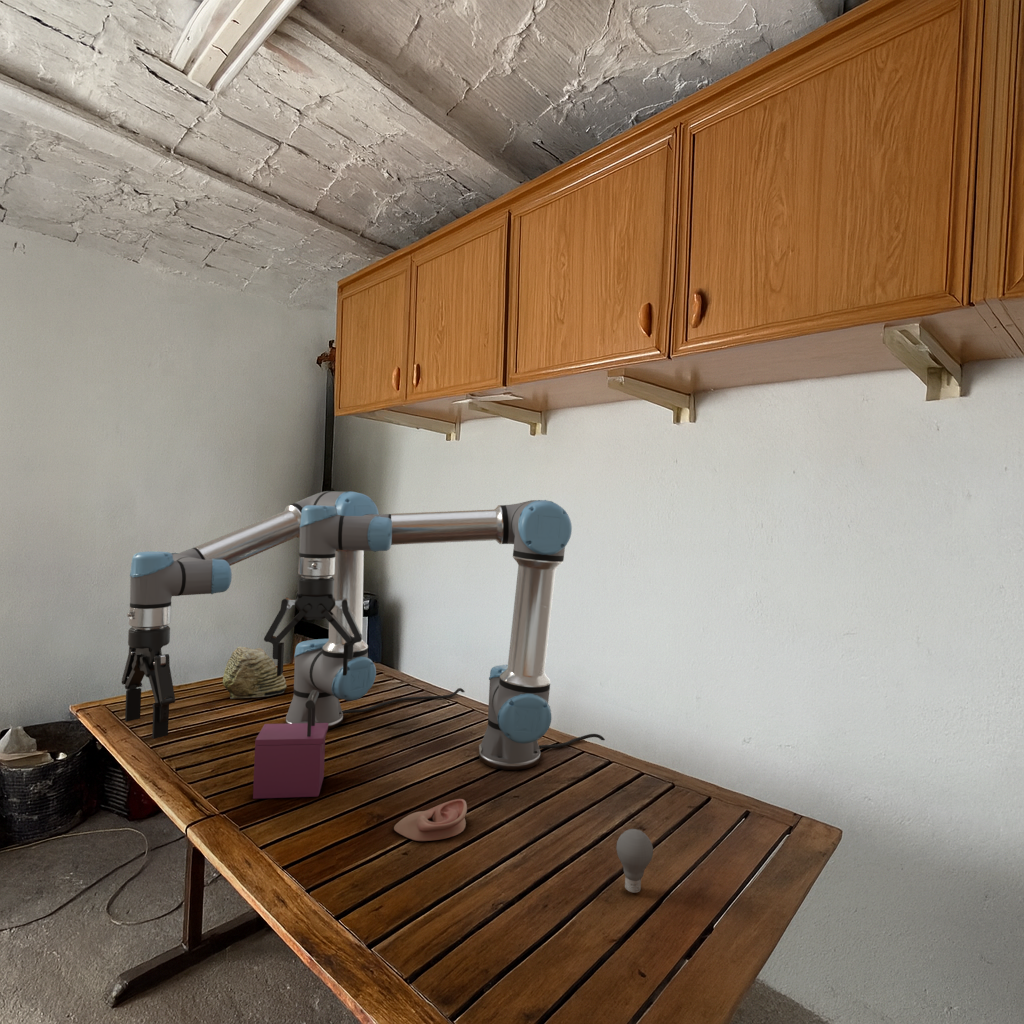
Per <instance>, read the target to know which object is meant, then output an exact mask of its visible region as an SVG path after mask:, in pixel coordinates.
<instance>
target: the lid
mask: <svg viewBox="0 0 1024 1024" xmlns="http://www.w3.org/2000/svg"><path fill="white" fill-rule="evenodd" d="M318 696H319V692H318V691H317V690H313V691H311V693H310V695H309V697H308V699H307V701H306V704H305V706H306V708H307V709H308V723H293V724H286V723H264V725H263V726H262V728H261V730H260V731H259V733H258V735H256V738H255V739H254V746H255V745H300V744H323V743H324V740H325V741H326V736H327V733H328V731H329V730H328V723H315V709H316V701H317V698H318ZM311 719H312V720H311Z"/></svg>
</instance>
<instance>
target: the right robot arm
mask: <svg viewBox="0 0 1024 1024" xmlns="http://www.w3.org/2000/svg"><path fill="white" fill-rule="evenodd" d="M572 529H573V526H572V520H571V518H570V515H569V514H568V512H567V511H566V510H565V508H564V507H562V506H561V505H559V504H558V503H556V502H554V501H552V500H548V499H538V500H537V499H534V500H532V499H531V500H526V501H522V502H518V503H512V504H501V505H497V506H496V507H495V508H494V509H475V510H473V509H472V510H454V511H453V510H452V511H451V510H450V511H449V510H447V511H426V512H425V511H423V512H403V513H398V512H397V513H379V514H365V515H363V516H341V515H338V513H337V508H336V507H335V506H321V505H307V506H304V507H303V508H302V513H301V523H300V538H299V551H298V552H299V553H298V575H299V576H300V577H298V579H297V597H296V598H295V599H292V598H289V597H286V596H285V597H284V598H283V599H282V600H281V603H280V608H279V611H278V613H277V614H276V616H275V618H274V620H273V621H272V622H271V625H270V627H269V629H268V630H267V632H266V634H265V635H264V638H263V641H264V642H266V643H270V644H272V660H277V664H276V668H277V676H281V675H283V673H284V657H285V642H281V641H282V640H283V639H284V638H285V637H286V636H287V635H288V634H289V633H290V632H291V631H292V629H294V627H296V625H297V624H298V623H300V621H301V620H302V619H305V620H306V621H312V620H317V621H322V620H325V619H326V621H327V622H328V623H329V622H330V623H331V624H332V626H333V627H334V628H335V629H336V630H337V632H338V633H339V634H340V635H341V636H342V638H343V639H344V640H345V641H346V642H347V643H345V644H344V656H343V675H347V667H348V659H352V657H353V647H354V644H355V643H357V642H361V640H362V639H363V634H362V635H361V632H360V630H359V628H358V626H357V624H356V622H355V620H354V618H353V616H352V613H351V611H350V609H349V602H348V599H347V598H344V599H343V600H335V599H334V579H333V577H332V576H333V575H334V574H335V551H336V549H338V550H363V551H364V552H368V551H369V552H388V551H390V550H391V548H392V546H396V545H417V544H419V545H421V544H444V543H445V544H446V543H463V542H464V543H466V542H467V543H468V542H491V541H494V542H495V541H496V542H497V543H498V544H499V545H513V551H512V558H513V559H514V560H515V562H516V563H517V566H518V568H517V574H516V575H517V576H516V584H515V585H516V586H515V593H514V604H513V611H512V612H513V613H512V621H511V622H512V623H511V629H510V630H511V631H510V632H511V633H510V641H509V650H508V659H507V664H498V665H494V666H493V667H491V669H490V670H489V673H490V674H489V677H488V680H489V689H488V709H487V711H488V713H487V726H486V730H485V732H484V735H483V737H482V741H481V743H479V745H478V758H479V760H480V761H481V763H483V764H485V765H486V766H488V767H491V768H493V769H498V770H505V771H521V770H527V769H530V768H532V767H534V766H537V765H538V764H539V763H540V761H541V750H543V749H545V750H546V749H561V748H564V747H567V746H570V745H572V744H574V743H576V742H580V741H582V740H583V741H584V740H587V739H591V738H598V739H599V740H600V741H606V739H605V738H604V737H603V736H602V735H601V734H598V733H588V734H585V735H582V736H579V737H574V738H572V739H570V740H568V741H566V742H561V743H557V744H556V743H555V744H540V745H539V741H538V740H539V739H541V738H542V737H543V736H545V735H546V733H547V732H548V731H549V729H550V727H551V723H552V710H551V706H550V704H549V700H550V690H551V679H550V677H548V676H547V674H546V665H547V654H548V647H549V645H548V644H549V637H550V636H549V635H550V626H551V619H552V608H553V600H554V599H553V598H554V589H555V582H556V581H555V580H556V571H557V569H558V567H559V566H561V565H562V564H563V563H564V559H565V551H566V546H567V545H568V543H569V542H570V540H571V536H572V533H573V532H572V531H573V530H572ZM335 605H337V606H338V607H339V609H340V610H343V614H344V616H345V618H346V620H347V622H348V624H349V626H350V629H351V631H352V633H353V635H354V637H352V636H351V635H350V634H349V632H348V631H347V630H346V629H345V628H344V626H343V625H342V624H341V623H340V622H339V620H338V619H337V618H336V617H335V615H334V614H333V612H332V611H331V610H332V609H333V608H334V607H335ZM293 606H295V608H296V609H297V610H298V613H297V614H296V615H295V617H293V618H292V619H291V621H289V623H288V624H287V625H286V626H285V627H284V628H283V629H282V630H281V632H279V634H277V635H276V636H275V632H276V631H277V629H278V628H279V626H280V624H281V623H282V620H283V619H284V617H285V615H286V613H287V612H288V610H290V609H291V608H292V607H293Z"/></svg>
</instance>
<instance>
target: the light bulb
mask: <svg viewBox="0 0 1024 1024" xmlns="http://www.w3.org/2000/svg"><path fill="white" fill-rule="evenodd" d="M615 849H616V854H617V857H618V859H619V861H620V863H621V865H622V867H623V873H624V874H623V875H624V876H625V878H624V888H625V890H627V891H628V892H630V893H634V894H635V893H639V892H640V891H641V889H642V887H641V886H642V879H643V877H644V875H645V871H646V868H647V867H648V866H649V864H650V863H651V861H652V859H653V855H654V847H653V843H652V841H651V838H649V836H648V835H647V834H646V833H645V832H643V831H642V830H641V829H636V828H629V829H627V830H625V831H623V832H622V833H621V834H620V835H619V837H618V839H617V841H616V847H615Z"/></svg>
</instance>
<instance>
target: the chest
mask: <svg viewBox="0 0 1024 1024" xmlns="http://www.w3.org/2000/svg"><path fill="white" fill-rule="evenodd" d="M325 753H326V739H325V740H324V743H323V744H300V745H255V744H254V763H253V765H254V766H253V769H254V770H253V786H252V787H253V791H252V799H254V800H256V799H257V800H260V799H261V800H262V799H287V798H288V799H289V798H309V797H312V798H313V797H317V798H318V797H319V795H320V792H321V789H322V785H323V781H324V778H325V756H326V755H325Z"/></svg>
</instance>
